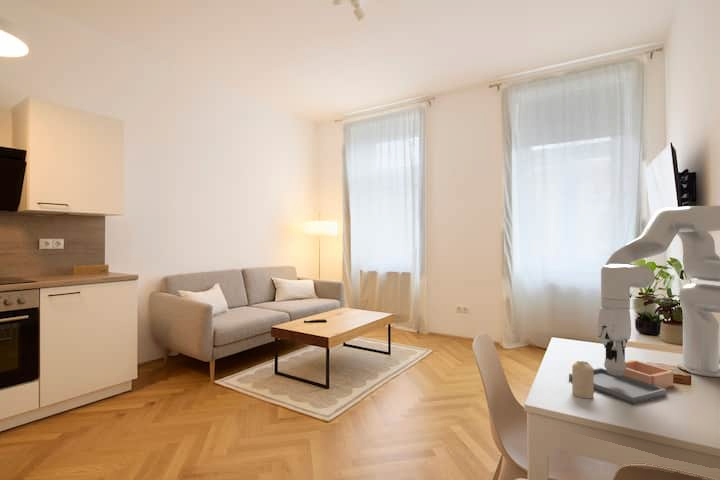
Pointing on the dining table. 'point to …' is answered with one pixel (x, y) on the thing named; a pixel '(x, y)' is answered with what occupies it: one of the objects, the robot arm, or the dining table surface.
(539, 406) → the dining table surface
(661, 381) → the open container
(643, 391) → the tray
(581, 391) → the candle
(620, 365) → the salt shaker
